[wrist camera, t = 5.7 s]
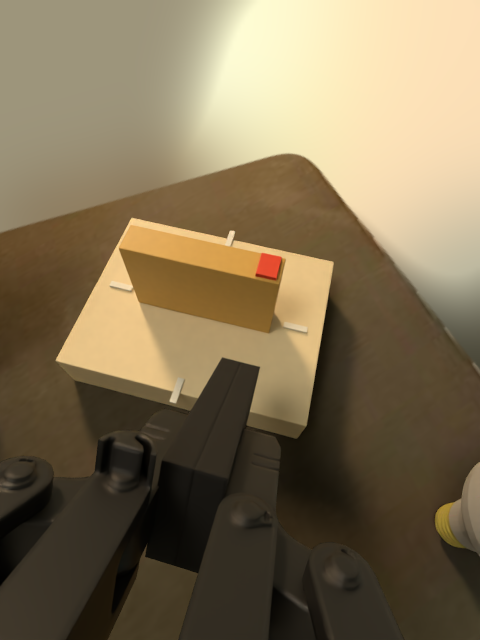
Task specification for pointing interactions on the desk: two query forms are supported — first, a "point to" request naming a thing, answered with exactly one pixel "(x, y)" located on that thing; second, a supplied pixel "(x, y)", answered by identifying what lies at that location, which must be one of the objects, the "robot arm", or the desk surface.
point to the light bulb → (462, 516)
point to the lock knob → (203, 277)
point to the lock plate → (203, 341)
